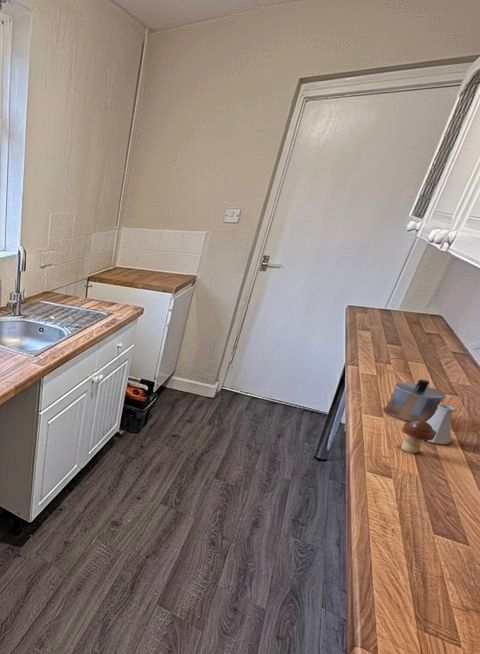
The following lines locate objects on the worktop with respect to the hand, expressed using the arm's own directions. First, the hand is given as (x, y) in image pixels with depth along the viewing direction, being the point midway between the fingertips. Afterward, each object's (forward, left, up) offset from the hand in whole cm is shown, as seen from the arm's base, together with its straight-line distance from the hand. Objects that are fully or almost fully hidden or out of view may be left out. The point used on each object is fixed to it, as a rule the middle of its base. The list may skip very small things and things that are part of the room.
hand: (478, 346), depth 113 cm
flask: (+3, +10, -25) cm, 28 cm away
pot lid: (+6, -4, -17) cm, 18 cm away
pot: (+6, -4, -25) cm, 26 cm away
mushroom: (+10, +22, -25) cm, 35 cm away
